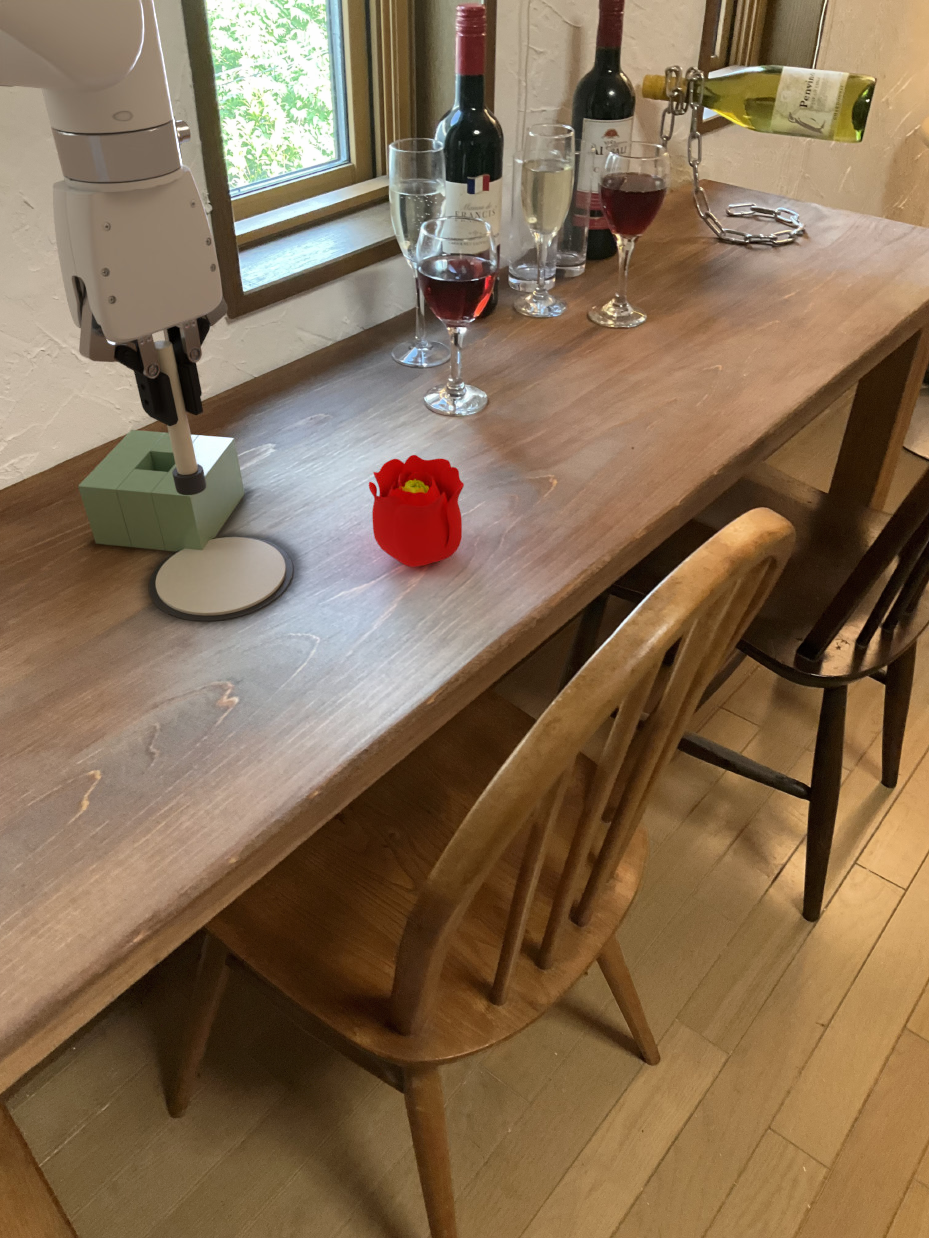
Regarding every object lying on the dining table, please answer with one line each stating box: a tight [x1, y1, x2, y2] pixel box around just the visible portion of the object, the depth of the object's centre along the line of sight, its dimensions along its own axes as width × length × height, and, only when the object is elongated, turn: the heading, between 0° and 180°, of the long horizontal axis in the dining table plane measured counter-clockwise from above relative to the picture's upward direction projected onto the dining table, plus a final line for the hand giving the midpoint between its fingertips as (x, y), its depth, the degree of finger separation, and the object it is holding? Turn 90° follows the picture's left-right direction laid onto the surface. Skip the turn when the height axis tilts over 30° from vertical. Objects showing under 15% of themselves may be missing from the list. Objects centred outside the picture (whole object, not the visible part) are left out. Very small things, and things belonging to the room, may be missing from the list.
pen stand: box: [77, 429, 246, 553], centre depth 87 cm, size 10×10×6 cm
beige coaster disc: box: [148, 535, 294, 623], centre depth 81 cm, size 12×12×1 cm
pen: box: [154, 340, 206, 495], centre depth 74 cm, size 2×2×12 cm
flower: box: [368, 454, 465, 568], centre depth 81 cm, size 8×8×8 cm
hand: (175, 413), depth 73 cm, fingers closed on pen, 1 cm apart
